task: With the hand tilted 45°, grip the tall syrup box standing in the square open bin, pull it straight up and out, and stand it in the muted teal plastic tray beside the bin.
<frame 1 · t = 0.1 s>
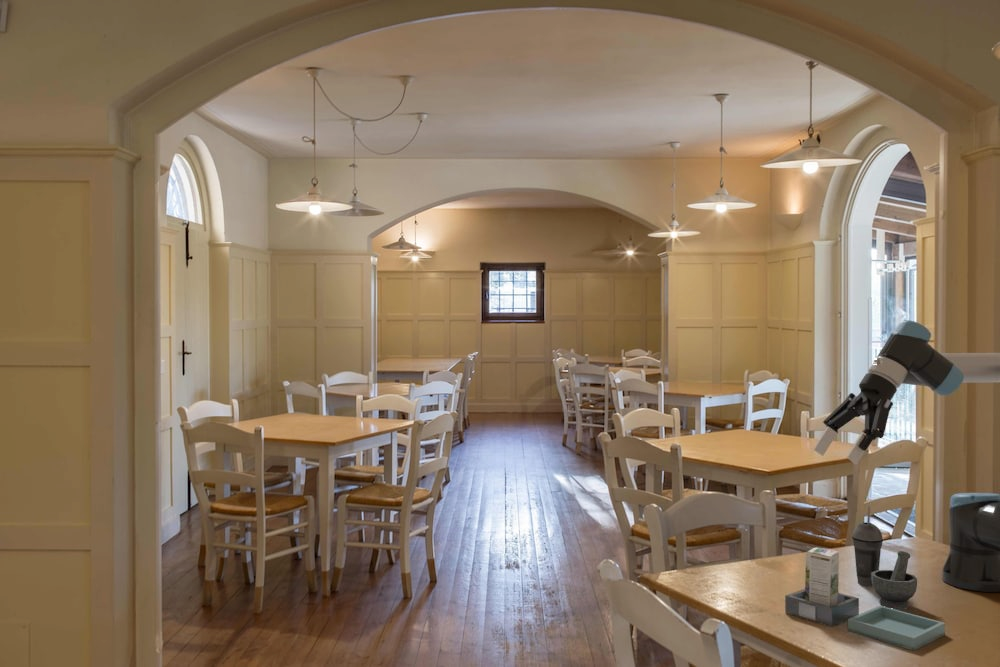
hand: (833, 456, 188), 36 cm above the table, tool tilted 35°, fingers open, 13 cm apart
syrup box: (821, 615, 186), resting in square open bin
tray: (896, 632, 175), on the table
beverage cup: (867, 584, 209), on the table
square open bin: (821, 614, 186), on the table
mortar and pestle: (895, 605, 193), on the table
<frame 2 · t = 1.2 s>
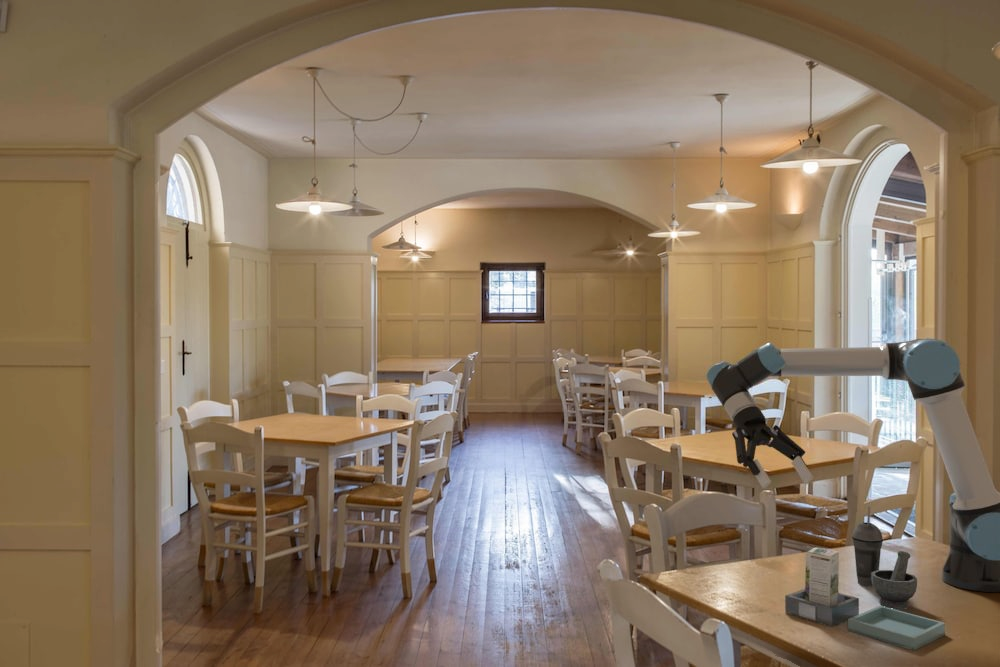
hand: (788, 483, 196), 28 cm above the table, tool tilted 45°, fingers open, 13 cm apart
nothing on the table moved.
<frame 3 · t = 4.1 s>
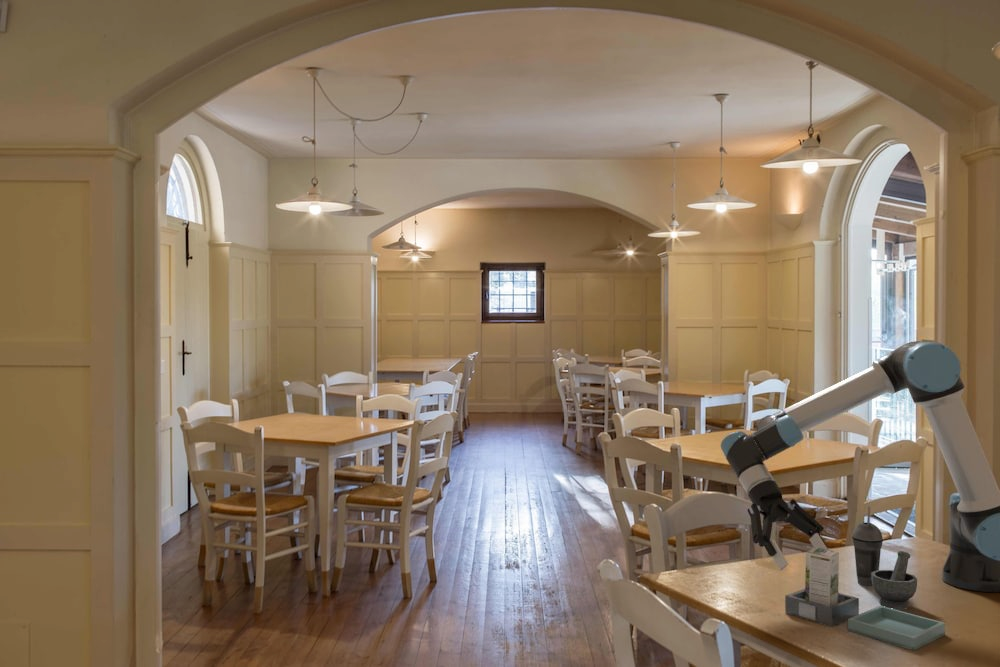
hand: (806, 563, 189), 11 cm above the table, tool tilted 45°, fingers open, 13 cm apart
nothing on the table moved.
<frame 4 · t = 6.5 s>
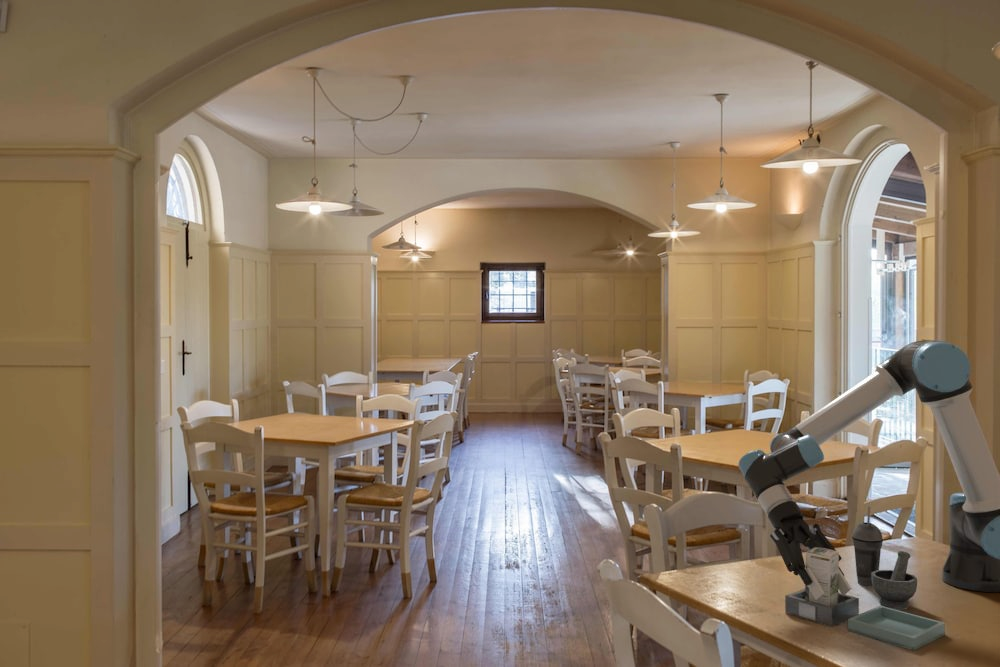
hand: (833, 594, 183), 6 cm above the table, tool tilted 45°, fingers closed on syrup box, 7 cm apart
syrup box: (821, 615, 186), resting in square open bin, touching gripper
everything else where it was.
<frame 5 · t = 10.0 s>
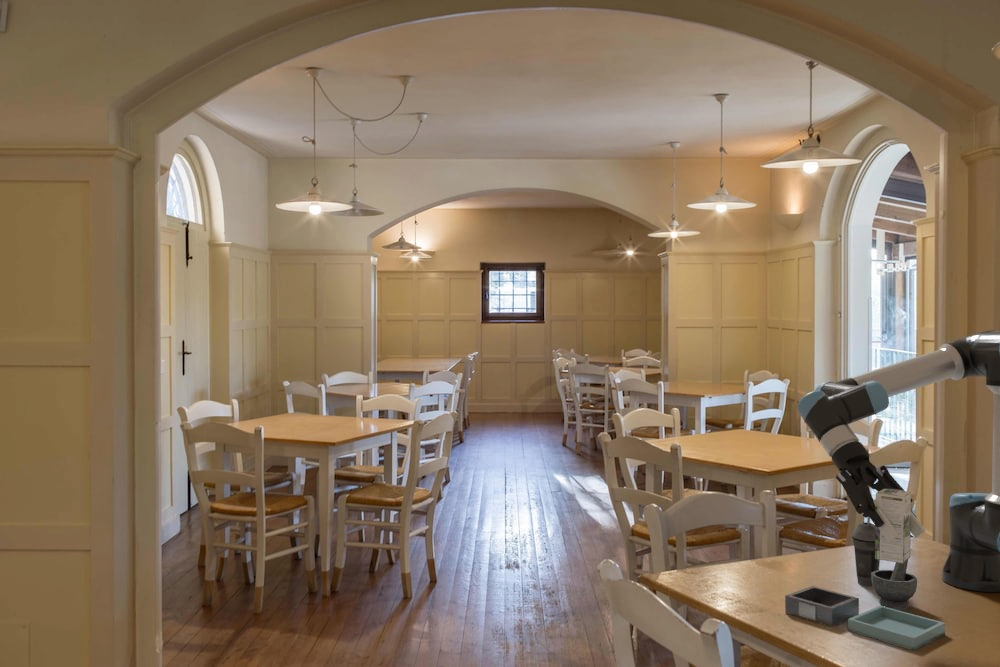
hand: (907, 536, 172), 21 cm above the table, tool tilted 45°, fingers closed on syrup box, 7 cm apart
syrup box: (893, 559, 175), point 16 cm above the table, touching gripper
everything else where it was.
when the fingers open (7 cm above the table, at t = 13.5 s): syrup box drops 1 cm, resting on tray.
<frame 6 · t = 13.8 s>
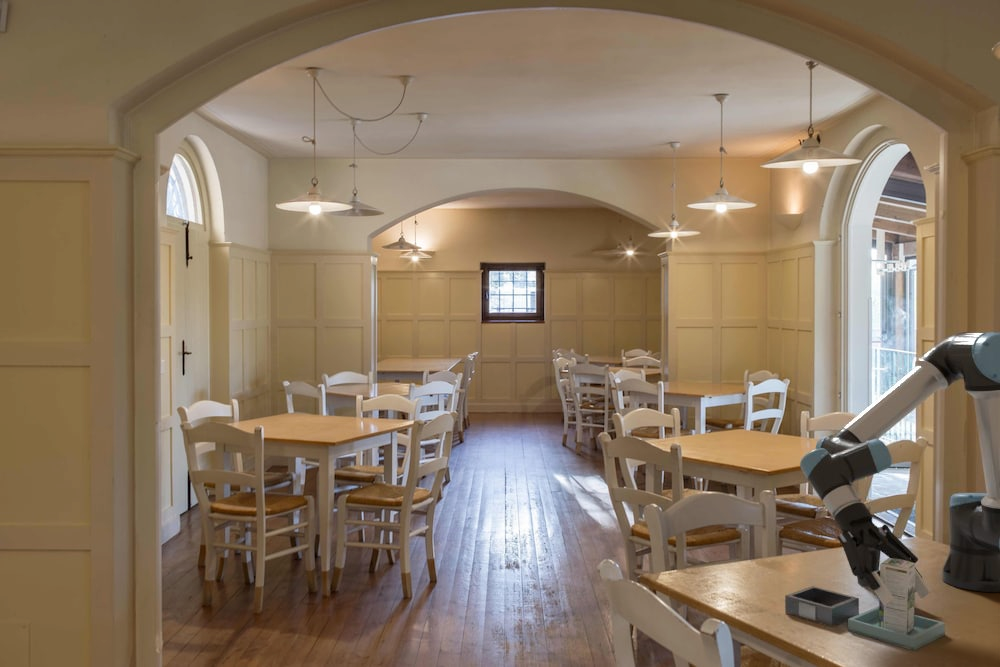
hand: (908, 599, 172), 8 cm above the table, tool tilted 45°, fingers open, 10 cm apart
syrup box: (896, 630, 175), resting on tray
everything else where it was.
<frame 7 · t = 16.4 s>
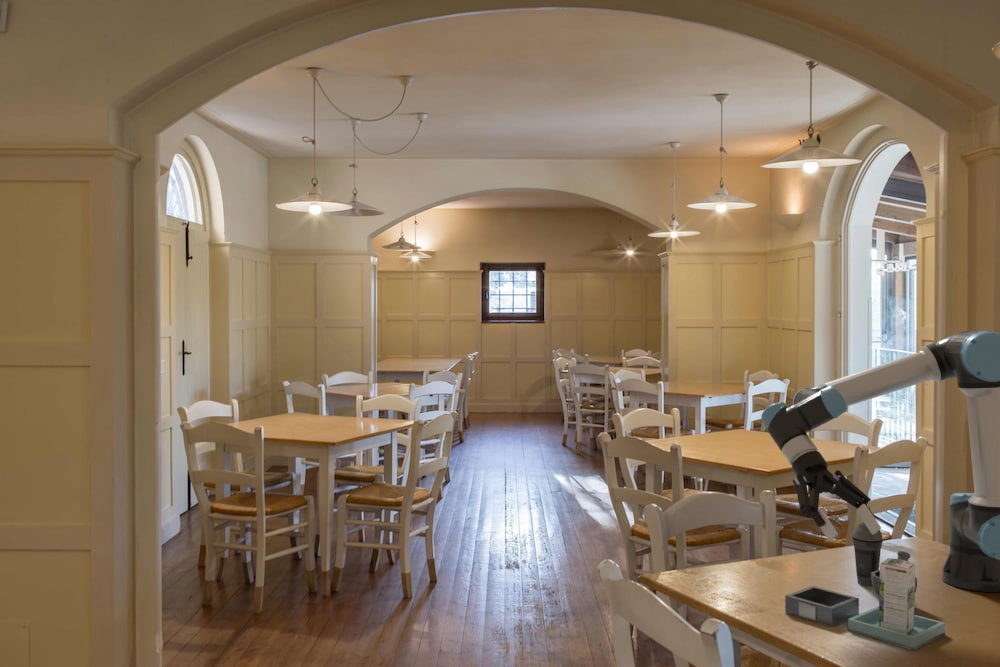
hand: (855, 534, 185), 19 cm above the table, tool tilted 45°, fingers open, 13 cm apart
nothing on the table moved.
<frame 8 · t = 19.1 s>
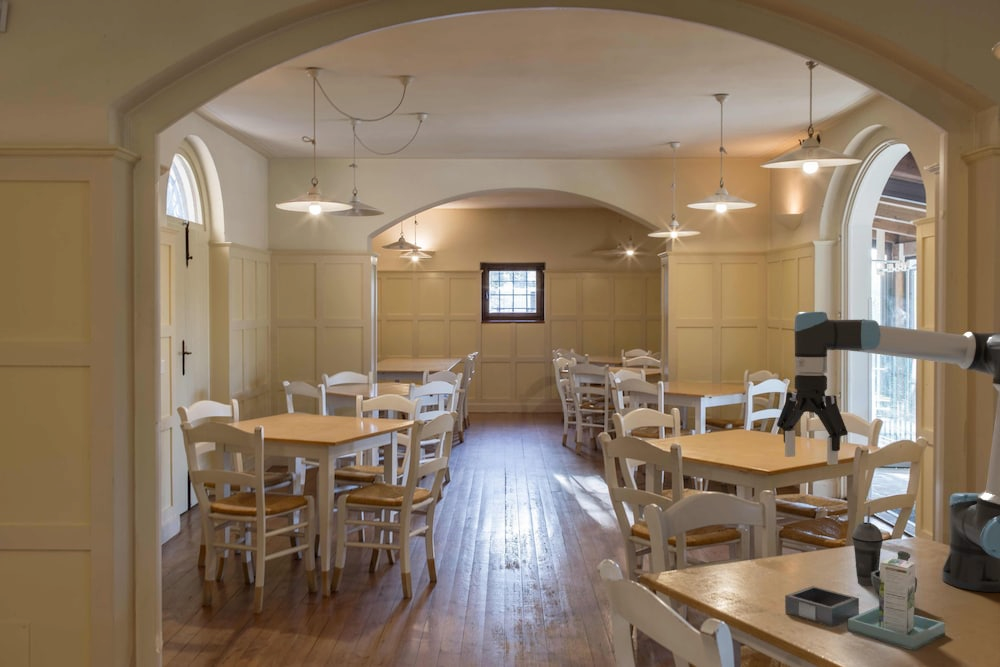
hand: (810, 460, 202), 33 cm above the table, tool pointing down, fingers open, 13 cm apart
nothing on the table moved.
at the end: syrup box inside the target area on the tray (0.3 cm from its centre), point 0.4 cm above the tray's base; syrup box tilted 0°; the gripper is holding nothing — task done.
